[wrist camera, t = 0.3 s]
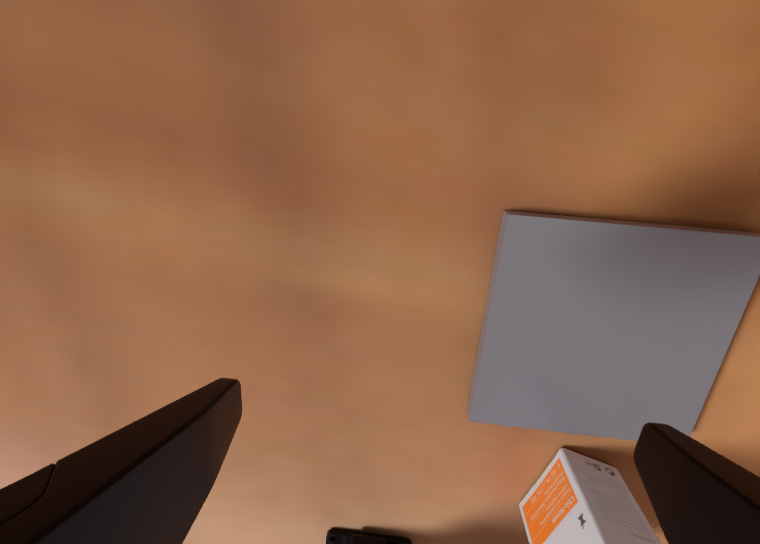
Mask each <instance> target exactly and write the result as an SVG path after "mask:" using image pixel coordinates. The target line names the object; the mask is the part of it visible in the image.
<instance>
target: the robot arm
mask: <svg viewBox="0 0 760 544" xmlns="http://www.w3.org/2000/svg"><path fill="white" fill-rule="evenodd" d="M241 415H242V399H241V385H240V382H239V381H238V380H237V379H230V378H220V379H218V380H216V381H214V382H212V383H210V384H208V385H206V386H204V387H202V388H200V389H198V390H196V391H194V392H192V393H190V394H188V395H186V396H184V397H182V398H180V399H178V400H176V401H174V402H172V403H170V404H168V405H166V406H164V407H163V408H161V409H159V410H157V411H155V412H153V413H151V414H149V415H147V416H145V417H143V418H141V419H139V420H137V421H135V422H133V423H131V424H129V425H127V426H125V427H123V428H121V429H119V430H117V431H115V432H113V433H111V434H109V435H107V436H105V437H103V438H102V439H100V440H98V441H96V442H94V443H92V444H90V445H88V446H86V447H84V448H82V449H80V450H78V451H76V452H74V453H72V454H70V455H68V456H66V457H64V458H62V459H60V460H58V461H57V462H56V464H50V465H48V466H46V467H44V468H42V469H40V470H38V471H36V472H35V473H33V474H31V475H29V476H27V477H25V478H23V479H20V480H18V481H16V482H14V483H12V484H10V485H8V486H6V487H4V488H2V489H0V544H182V543H183V541H184V539H185V538H186V536H187V534H188V532H189V530H190V528H191V526H192V524H193V523H194V521H195V519H196V517H197V515H198V513H199V511H200V509H201V508H202V506H203V504H204V502H205V500H206V498H207V496H208V494H209V493H210V491H211V489H212V487H213V485H214V482H215V480H216V478H217V476H218V473H219V471H220V468H221V466H222V463H223V461H224V459H225V456H226V454H227V451H228V449H229V446H230V444H231V441H232V439H233V436H234V434H235V432H236V429H237V427H238V424H239V422H240V419H241ZM634 462H635V465H636V468H637V470H638V472H639V475H640V477H641V480H642V482H643V485H644V487H645V490H646V492H647V494H648V497H649V499H650V502H651V504H652V507H653V509H654V511H655V514H656V516H657V519H658V521H659V524H660V526H661V528H662V530H663V533H664V535H665V537H666V539H667V541H668V543H669V544H760V477H758V476H756V475H755V474H753V473H751V472H749V471H748V470H746V469H744V468H743V467H741V466H739V465H737V464H736V463H734V462H732V461H730V460H729V459H727V458H725V457H724V456H722V455H720V454H718V453H717V452H715V451H713V450H711V449H710V448H708V447H706V446H705V445H703V444H701V443H699V442H698V441H696V440H694V439H692V438H691V437H689V436H687V435H686V434H684V433H682V432H680V431H679V430H677V429H675V428H673V427H672V426H670V425H667V424H662V423H652V422H648V423H646V424H645V425H644V426H643V428H642V430H641V433H640V436H639V439H638V442H637V444H636V447H635V450H634ZM326 544H412V542H411V541H410V540H409V539H406V538H399V537H391V536H384V535H376V534H368V533H361V532H353V531H345V530H338V529H330V530H329V531H328V532H327V537H326Z"/></svg>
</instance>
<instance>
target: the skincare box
mask: <svg viewBox="0 0 760 544" xmlns="http://www.w3.org/2000/svg"><path fill="white" fill-rule="evenodd" d="M519 507H520V511H521V515H522V518H523V522H524V526H525V529H526V533H527V537H528V540H529V544H661V542H660V541H659V539H658V537H657V536H656V534H655V532H654V530H653V529H652V527H651V526H650V524H649V522H648V520H647V519H646V517H645V515H644V514H643V512H642V510H641V509H640V507H639V505H638V503H637V502H636V500H635V499H634V497H633V495H632V493H631V492H630V490H629V488H628V487H627V485H626V483H625V482H624V480H623V478H622V477H621V475H620V473H619V471H618V470H617V469H616V468H615V467H613V466H610V465H608V464H605V463H602V462H600V461H597V460H594V459H592V458H589V457H586V456H584V455H581V454H578V453H576V452H573V451H571V450H568V449H566V448H560V450H559V451H558V453H557V454H556V456H555V458H554V459H553V460H552V462H551V463H550V464H549V465H548V467H547V468H546V470H545V471H544V472H543V474H542V475H541V477H540V478H539V479H538V481H537V482H536V483H535V484H534V486H533V487H532V488H531V490H530V491H529V492H528V493H527V495H526V496H525V497H524V499H523V500H522V501H521V502H520V504H519Z"/></svg>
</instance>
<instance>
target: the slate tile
mask: <svg viewBox="0 0 760 544" xmlns="http://www.w3.org/2000/svg"><path fill="white" fill-rule="evenodd" d="M759 276H760V234H759V233H756V232H745V231H733V230H722V229H711V228H700V227H688V226H677V225H666V224H655V223H643V222H632V221H621V220H610V219H598V218H587V217H576V216H565V215H553V214H542V213H531V212H520V211H508V210H503V214H502V219H501V225H500V230H499V236H498V241H497V247H496V252H495V257H494V263H493V268H492V274H491V279H490V285H489V290H488V295H487V301H486V306H485V312H484V317H483V323H482V328H481V334H480V339H479V344H478V350H477V355H476V361H475V366H474V372H473V377H472V382H471V388H470V393H469V399H468V404H467V413H468V418H469V421H470V422H478V423H487V424H496V425H504V426H513V427H522V428H530V429H539V430H548V431H556V432H565V433H574V434H582V435H591V436H600V437H608V438H617V439H626V440H635V441H638V439H639V436H640V433H641V430H642V428H643V426H644V425H645V424H646V423H648V422H652V423H662V424H667V425H670V426H672V427H673V428H675V429H677V430H679V431H680V432H682V433H684V434H686V435H687V436H689V437H690V435H691V432H692V430H693V428H694V426H695V423H696V421H697V419H698V416H699V414H700V412H701V409H702V407H703V405H704V403H705V400H706V398H707V396H708V393H709V391H710V389H711V386H712V384H713V382H714V379H715V377H716V375H717V373H718V370H719V368H720V366H721V363H722V361H723V359H724V356H725V354H726V352H727V350H728V347H729V345H730V343H731V340H732V338H733V336H734V333H735V331H736V329H737V326H738V324H739V322H740V320H741V317H742V315H743V313H744V310H745V308H746V306H747V303H748V301H749V299H750V297H751V294H752V292H753V290H754V287H755V285H756V283H757V280H758V278H759Z"/></svg>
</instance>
